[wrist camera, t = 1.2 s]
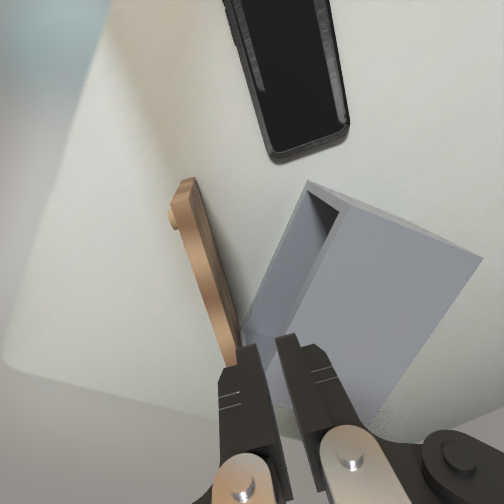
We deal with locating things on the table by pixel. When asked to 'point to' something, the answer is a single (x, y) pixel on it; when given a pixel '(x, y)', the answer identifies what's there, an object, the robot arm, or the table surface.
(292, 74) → the phone
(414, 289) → the storage box
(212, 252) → the door
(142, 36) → the table surface
